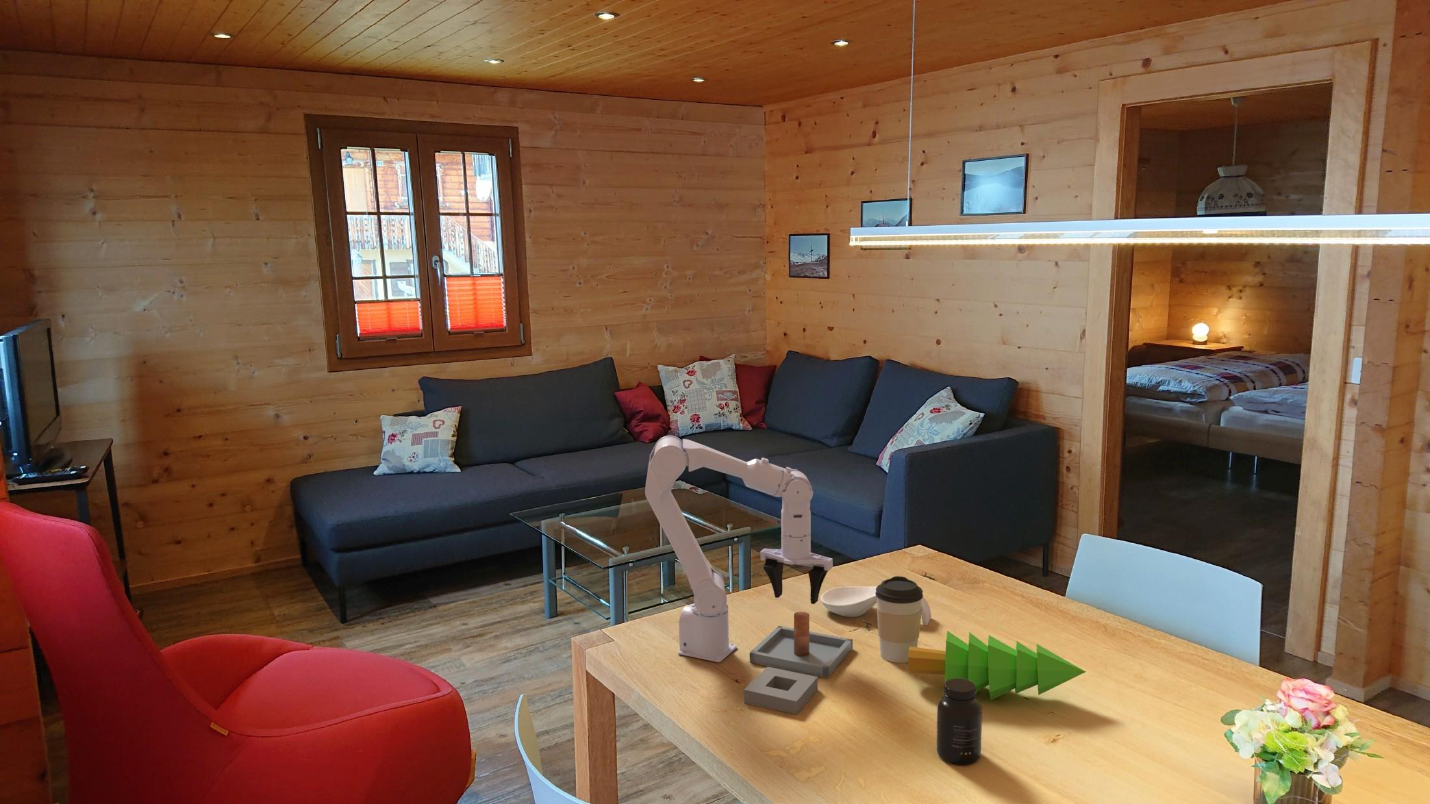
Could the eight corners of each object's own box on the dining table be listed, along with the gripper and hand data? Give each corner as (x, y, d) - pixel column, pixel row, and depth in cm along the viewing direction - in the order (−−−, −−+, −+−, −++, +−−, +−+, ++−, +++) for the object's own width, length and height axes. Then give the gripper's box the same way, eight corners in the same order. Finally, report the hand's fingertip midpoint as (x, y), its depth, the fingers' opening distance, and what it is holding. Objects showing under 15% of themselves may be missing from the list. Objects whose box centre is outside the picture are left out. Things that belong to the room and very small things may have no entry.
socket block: (744, 702, 168) (743, 689, 168) (767, 679, 177) (767, 666, 177) (796, 714, 164) (796, 701, 163) (817, 689, 173) (817, 676, 172)
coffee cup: (922, 667, 181) (923, 592, 178) (873, 663, 182) (874, 589, 180) (921, 646, 189) (923, 575, 187) (875, 643, 191) (876, 572, 189)
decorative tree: (910, 615, 174) (1085, 625, 166) (913, 659, 180) (1083, 671, 171) (904, 662, 165) (1089, 675, 156) (908, 707, 171) (1087, 722, 162)
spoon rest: (814, 618, 205) (814, 587, 204) (828, 599, 216) (828, 568, 214) (924, 633, 196) (925, 600, 195) (934, 612, 207) (935, 581, 206)
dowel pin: (791, 654, 186) (791, 616, 184) (797, 648, 188) (797, 610, 187) (806, 657, 185) (806, 618, 183) (811, 651, 187) (811, 613, 186)
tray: (749, 662, 184) (749, 652, 184) (778, 634, 196) (778, 625, 196) (827, 678, 177) (827, 668, 177) (852, 648, 189) (852, 639, 189)
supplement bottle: (930, 745, 153) (931, 675, 151) (971, 742, 154) (973, 673, 152) (944, 768, 147) (946, 696, 144) (987, 765, 147) (989, 693, 145)
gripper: (753, 534, 185) (754, 600, 188) (823, 544, 179) (823, 612, 181) (768, 524, 192) (769, 588, 194) (836, 533, 185) (836, 599, 187)
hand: (796, 599), depth 188 cm, fingers open, 7 cm apart
